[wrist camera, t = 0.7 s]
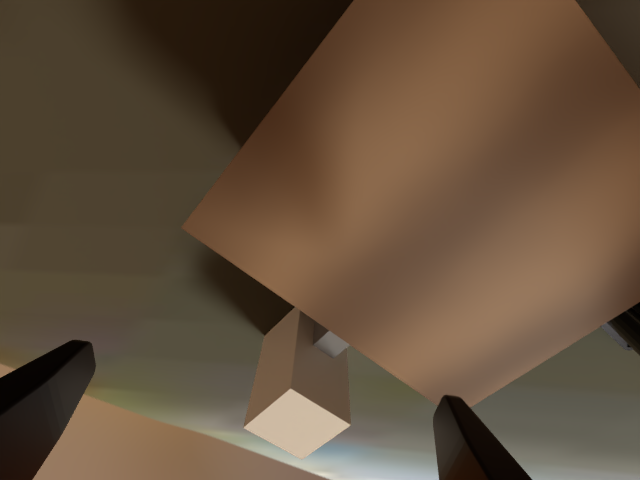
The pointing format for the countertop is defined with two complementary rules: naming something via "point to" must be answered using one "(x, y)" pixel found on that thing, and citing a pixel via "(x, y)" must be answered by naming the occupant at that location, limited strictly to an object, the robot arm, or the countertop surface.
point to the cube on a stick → (300, 386)
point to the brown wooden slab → (444, 189)
